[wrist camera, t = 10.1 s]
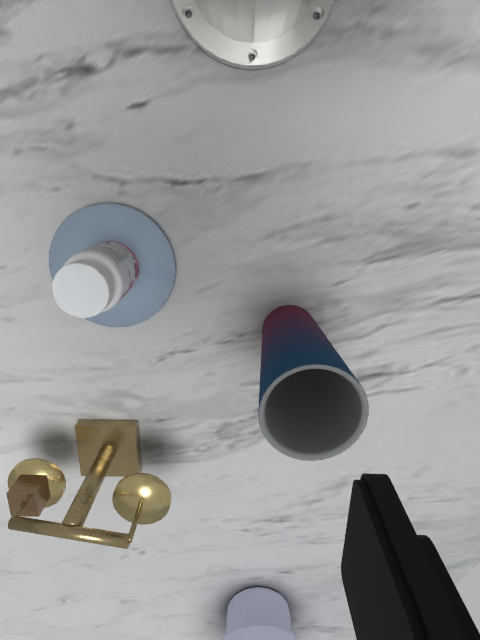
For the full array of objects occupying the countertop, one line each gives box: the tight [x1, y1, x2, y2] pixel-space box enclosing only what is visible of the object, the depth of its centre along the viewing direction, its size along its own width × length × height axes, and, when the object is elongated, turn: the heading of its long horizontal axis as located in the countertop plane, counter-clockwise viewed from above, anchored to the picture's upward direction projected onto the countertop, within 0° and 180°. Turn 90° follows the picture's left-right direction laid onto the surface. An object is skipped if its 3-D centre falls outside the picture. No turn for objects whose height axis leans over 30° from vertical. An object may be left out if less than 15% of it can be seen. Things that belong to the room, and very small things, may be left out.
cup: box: [258, 306, 369, 461], centre depth 34 cm, size 7×7×15 cm
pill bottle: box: [52, 241, 140, 318], centre depth 34 cm, size 5×5×8 cm
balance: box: [7, 420, 171, 549], centre depth 39 cm, size 6×15×13 cm, turn 89°
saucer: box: [49, 203, 176, 327], centre depth 38 cm, size 11×11×1 cm
